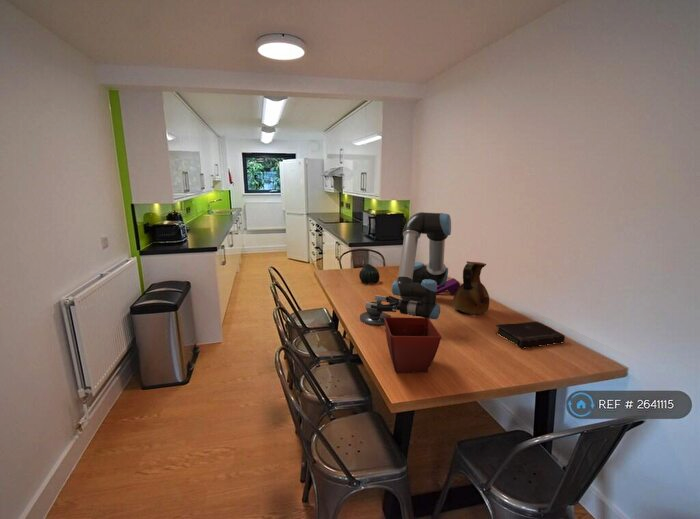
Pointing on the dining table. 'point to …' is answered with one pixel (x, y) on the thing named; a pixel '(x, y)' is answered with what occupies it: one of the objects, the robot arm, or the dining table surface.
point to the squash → (369, 274)
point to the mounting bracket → (449, 286)
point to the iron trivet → (375, 322)
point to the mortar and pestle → (374, 310)
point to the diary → (530, 334)
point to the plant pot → (411, 343)
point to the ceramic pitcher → (472, 291)
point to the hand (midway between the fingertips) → (370, 301)
